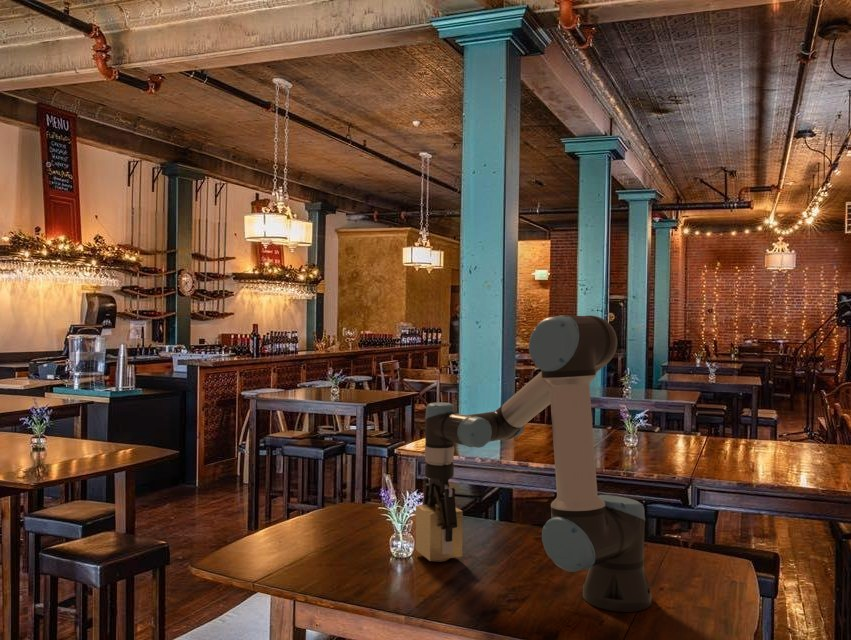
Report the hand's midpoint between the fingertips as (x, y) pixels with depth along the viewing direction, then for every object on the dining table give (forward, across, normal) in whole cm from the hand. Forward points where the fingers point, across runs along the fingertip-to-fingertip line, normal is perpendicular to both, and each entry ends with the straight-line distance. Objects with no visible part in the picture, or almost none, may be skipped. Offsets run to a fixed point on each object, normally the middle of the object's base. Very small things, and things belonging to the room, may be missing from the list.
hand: (438, 547), depth 194 cm
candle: (+3, 0, 0) cm, 3 cm away
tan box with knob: (+2, 0, 0) cm, 2 cm away
